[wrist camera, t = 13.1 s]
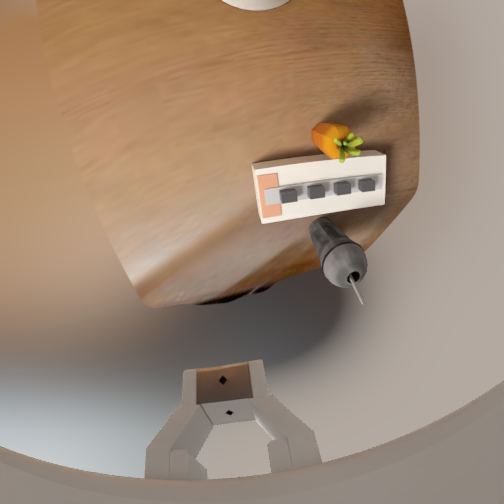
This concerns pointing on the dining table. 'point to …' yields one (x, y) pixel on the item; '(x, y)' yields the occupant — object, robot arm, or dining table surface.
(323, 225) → the beverage cup
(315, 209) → the breaker panel
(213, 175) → the dining table surface
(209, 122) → the dining table surface
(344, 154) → the carrot
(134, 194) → the dining table surface
